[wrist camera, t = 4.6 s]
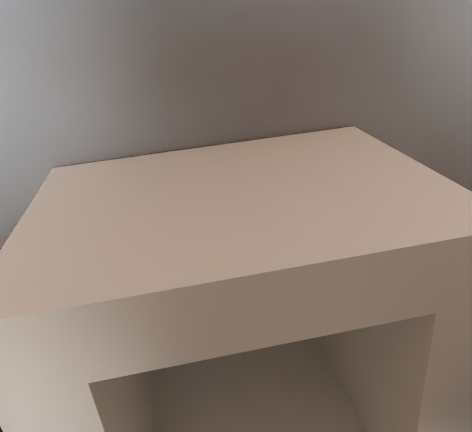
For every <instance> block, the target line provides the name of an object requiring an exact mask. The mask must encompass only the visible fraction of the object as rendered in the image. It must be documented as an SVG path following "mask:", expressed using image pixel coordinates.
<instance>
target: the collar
mask: <svg viewBox="0 0 472 432" xmlns="http://www.w3.org/2000/svg"><path fill="white" fill-rule="evenodd" d="M0 427H1V429H2V431H3V432H472V191H470V190H468V189H466V188H464V187H463V186H461V185H459V184H457V183H455V182H454V181H452V180H450V179H448V178H446V177H444V176H443V175H441V174H439V173H437V172H435V171H434V170H432V169H430V168H428V167H426V166H425V165H423V164H421V163H419V162H417V161H416V160H414V159H412V158H410V157H408V156H407V155H405V154H403V153H401V152H399V151H398V150H396V149H394V148H392V147H390V146H389V145H387V144H385V143H383V142H381V141H380V140H378V139H376V138H374V137H372V136H371V135H369V134H367V133H365V132H363V131H362V130H360V129H358V128H356V127H354V126H352V127H345V128H337V129H330V130H323V131H316V132H308V133H301V134H294V135H287V136H279V137H272V138H265V139H258V140H251V141H243V142H236V143H229V144H222V145H214V146H207V147H200V148H193V149H185V150H178V151H171V152H164V153H156V154H149V155H142V156H135V157H127V158H120V159H113V160H106V161H98V162H91V163H84V164H77V165H70V166H62V167H55V168H52V170H51V171H50V173H49V174H48V176H47V178H46V179H45V181H44V182H43V184H42V185H41V187H40V189H39V190H38V192H37V193H36V195H35V196H34V198H33V200H32V201H31V203H30V204H29V206H28V207H27V209H26V211H25V212H24V214H23V215H22V217H21V218H20V220H19V222H18V223H17V225H16V226H15V228H14V229H13V231H12V233H11V234H10V236H9V237H8V239H7V240H6V242H5V244H4V245H3V247H2V248H1V250H0Z"/></svg>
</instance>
